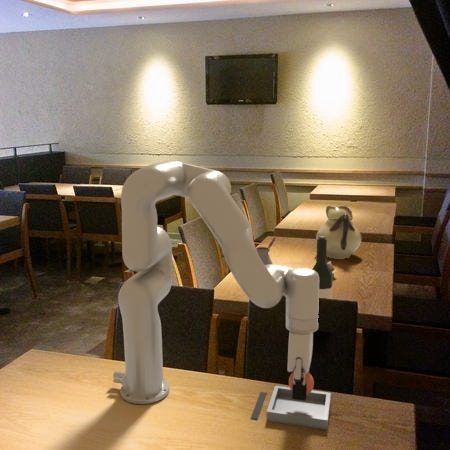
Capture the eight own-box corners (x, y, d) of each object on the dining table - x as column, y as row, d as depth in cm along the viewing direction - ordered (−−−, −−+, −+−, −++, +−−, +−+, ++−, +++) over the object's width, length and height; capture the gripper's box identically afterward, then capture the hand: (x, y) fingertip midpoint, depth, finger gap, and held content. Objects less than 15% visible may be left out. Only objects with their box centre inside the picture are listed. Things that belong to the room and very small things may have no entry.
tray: (266, 421, 117) (266, 411, 116) (275, 394, 128) (275, 385, 128) (327, 430, 113) (327, 420, 113) (330, 401, 125) (330, 392, 124)
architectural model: (337, 278, 223) (337, 262, 222) (330, 282, 218) (330, 266, 216) (330, 276, 225) (330, 261, 224) (322, 280, 220) (323, 264, 219)
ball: (286, 399, 118) (287, 375, 117) (290, 386, 123) (290, 363, 122) (312, 402, 116) (312, 378, 115) (314, 389, 122) (315, 366, 121)
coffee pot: (269, 281, 218) (269, 248, 215) (245, 277, 224) (245, 245, 220) (286, 268, 237) (287, 238, 234) (264, 265, 242) (264, 235, 239)
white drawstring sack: (334, 248, 273) (335, 203, 268) (371, 257, 255) (373, 209, 250) (307, 256, 259) (308, 208, 254) (344, 266, 241) (346, 215, 236)
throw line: (250, 418, 118) (250, 418, 118) (260, 392, 129) (260, 391, 129) (257, 419, 118) (257, 418, 118) (266, 393, 129) (266, 392, 129)
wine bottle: (328, 314, 181) (331, 233, 175) (334, 323, 173) (337, 239, 166) (305, 314, 181) (307, 234, 174) (310, 324, 172) (312, 239, 166)
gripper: (290, 306, 125) (290, 372, 129) (280, 334, 109) (279, 409, 113) (321, 309, 123) (319, 376, 127) (314, 338, 107) (313, 414, 111)
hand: (301, 391), depth 120 cm, fingers closed on ball, 5 cm apart
